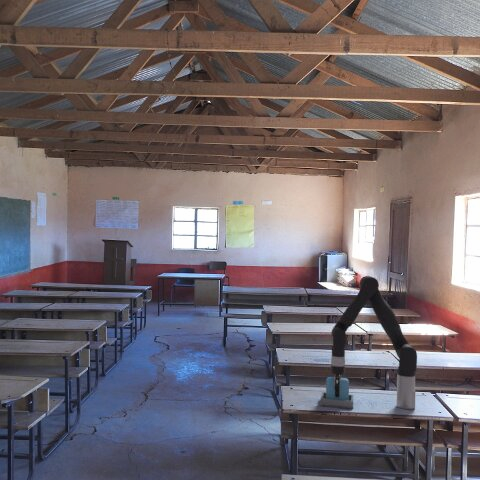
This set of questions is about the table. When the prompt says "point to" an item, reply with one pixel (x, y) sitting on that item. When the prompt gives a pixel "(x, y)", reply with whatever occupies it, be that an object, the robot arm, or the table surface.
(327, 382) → the light blue flat block
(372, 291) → the robot arm
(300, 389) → the table surface
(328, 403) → the holder tray
